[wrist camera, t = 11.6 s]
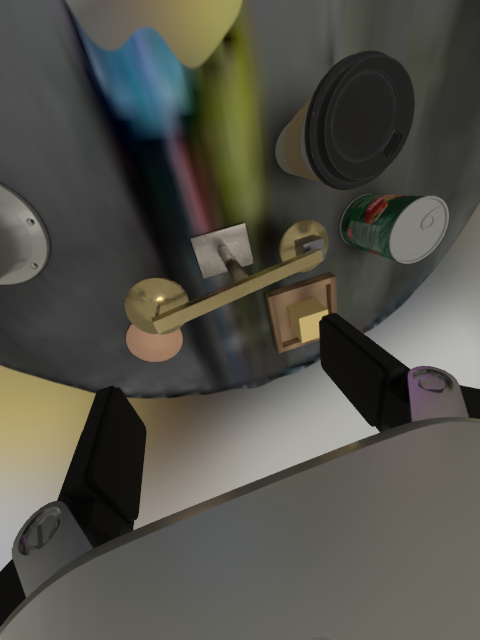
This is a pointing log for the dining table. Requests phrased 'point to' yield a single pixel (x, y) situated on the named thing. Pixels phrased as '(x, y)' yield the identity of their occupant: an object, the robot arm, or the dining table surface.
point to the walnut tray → (282, 297)
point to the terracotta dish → (153, 344)
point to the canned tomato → (395, 225)
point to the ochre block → (306, 318)
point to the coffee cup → (350, 123)
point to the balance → (218, 257)
